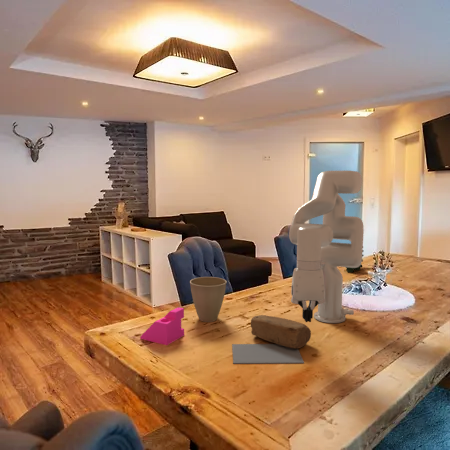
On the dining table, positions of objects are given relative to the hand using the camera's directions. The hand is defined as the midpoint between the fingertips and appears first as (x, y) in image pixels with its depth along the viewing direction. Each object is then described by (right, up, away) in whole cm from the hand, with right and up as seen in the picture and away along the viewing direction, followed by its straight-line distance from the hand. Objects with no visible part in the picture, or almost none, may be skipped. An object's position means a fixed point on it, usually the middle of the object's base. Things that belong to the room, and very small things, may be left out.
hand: (307, 320), depth 126 cm
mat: (-13, -11, +1) cm, 17 cm away
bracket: (-50, -10, +15) cm, 53 cm away
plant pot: (-34, -8, +34) cm, 48 cm away
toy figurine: (+55, +2, +121) cm, 133 cm away
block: (0, -7, +4) cm, 8 cm away
